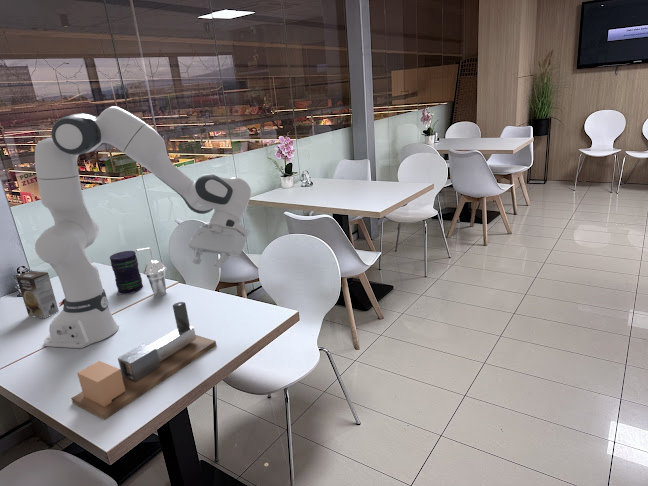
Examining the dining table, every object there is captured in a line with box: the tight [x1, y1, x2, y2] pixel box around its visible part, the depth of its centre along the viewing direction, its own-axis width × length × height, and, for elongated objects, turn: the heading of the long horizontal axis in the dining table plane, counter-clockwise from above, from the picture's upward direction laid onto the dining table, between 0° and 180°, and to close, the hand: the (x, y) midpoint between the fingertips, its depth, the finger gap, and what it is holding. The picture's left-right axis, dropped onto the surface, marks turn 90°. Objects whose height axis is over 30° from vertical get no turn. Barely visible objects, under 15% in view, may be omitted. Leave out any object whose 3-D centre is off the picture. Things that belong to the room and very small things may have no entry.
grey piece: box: [125, 301, 196, 375], centre depth 129 cm, size 21×4×12 cm, turn 147°
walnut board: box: [70, 334, 217, 421], centre depth 128 cm, size 37×14×2 cm, turn 147°
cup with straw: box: [135, 247, 168, 297], centre depth 178 cm, size 8×9×20 cm
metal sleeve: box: [117, 343, 161, 383], centre depth 125 cm, size 8×6×6 cm
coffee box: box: [15, 270, 60, 319], centre depth 170 cm, size 9×6×16 cm
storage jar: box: [109, 250, 144, 295], centre depth 187 cm, size 10×10×15 cm
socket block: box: [76, 360, 125, 407], centre depth 116 cm, size 6×9×7 cm, turn 57°
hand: (206, 265), depth 141 cm, fingers open, 8 cm apart
